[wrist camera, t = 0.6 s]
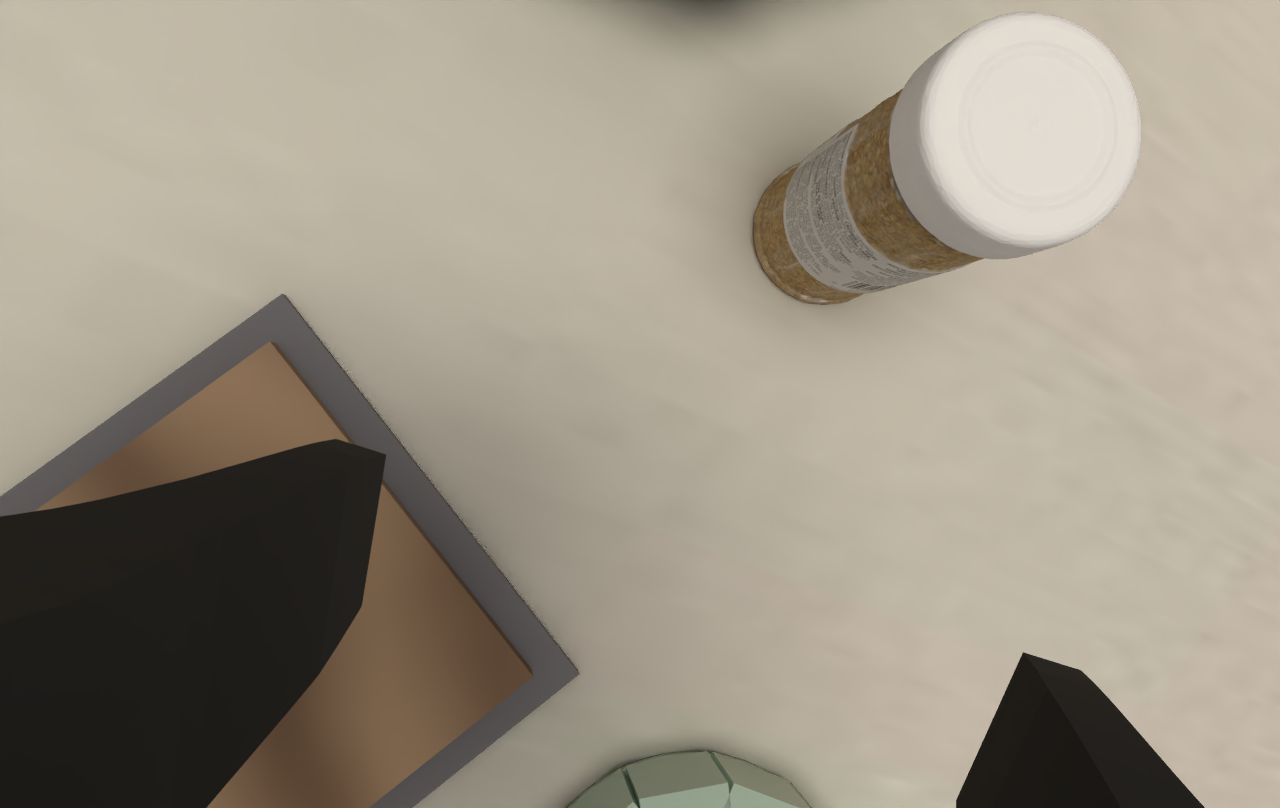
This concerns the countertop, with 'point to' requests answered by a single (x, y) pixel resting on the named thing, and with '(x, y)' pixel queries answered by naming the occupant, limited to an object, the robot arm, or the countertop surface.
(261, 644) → the robot arm
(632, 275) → the countertop surface
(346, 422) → the mat
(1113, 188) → the sprinkles bottle
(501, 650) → the lid
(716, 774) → the bowl
